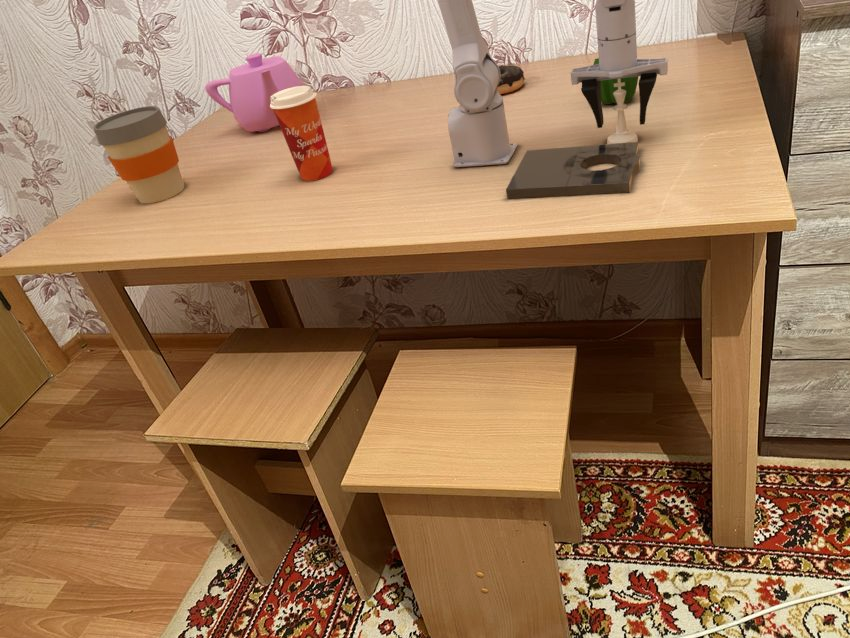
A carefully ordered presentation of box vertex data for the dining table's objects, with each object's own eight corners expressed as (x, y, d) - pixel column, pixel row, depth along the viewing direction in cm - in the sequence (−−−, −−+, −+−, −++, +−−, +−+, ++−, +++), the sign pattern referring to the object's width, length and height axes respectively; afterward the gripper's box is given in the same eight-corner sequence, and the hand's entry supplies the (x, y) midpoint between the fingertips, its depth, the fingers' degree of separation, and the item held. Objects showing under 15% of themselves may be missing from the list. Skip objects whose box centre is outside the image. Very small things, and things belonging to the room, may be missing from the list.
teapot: (220, 129, 166) (194, 64, 158) (304, 103, 171) (284, 39, 162) (231, 154, 148) (203, 82, 140) (325, 125, 153) (303, 53, 144)
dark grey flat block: (507, 198, 104) (505, 189, 103) (527, 158, 115) (526, 150, 115) (634, 192, 98) (634, 182, 97) (643, 150, 109) (643, 141, 108)
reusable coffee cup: (155, 210, 129) (117, 131, 120) (116, 204, 136) (78, 129, 127) (206, 181, 137) (174, 105, 128) (167, 177, 144) (134, 105, 135)
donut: (526, 91, 145) (524, 72, 143) (471, 102, 146) (467, 83, 144) (524, 77, 154) (521, 58, 152) (471, 87, 155) (468, 69, 153)
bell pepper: (647, 93, 131) (645, 37, 125) (630, 108, 125) (627, 51, 120) (605, 93, 135) (601, 39, 129) (587, 108, 130) (582, 52, 124)
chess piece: (637, 145, 111) (635, 81, 106) (606, 148, 113) (602, 86, 107) (637, 134, 115) (635, 72, 109) (607, 137, 116) (603, 76, 111)
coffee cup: (302, 187, 124) (273, 103, 116) (290, 175, 131) (262, 95, 122) (345, 172, 127) (320, 88, 118) (331, 161, 133) (307, 81, 124)
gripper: (564, 48, 104) (572, 136, 112) (665, 36, 99) (666, 129, 107) (571, 35, 109) (579, 121, 117) (667, 23, 104) (669, 113, 112)
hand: (621, 124), depth 112 cm, fingers open, 6 cm apart
